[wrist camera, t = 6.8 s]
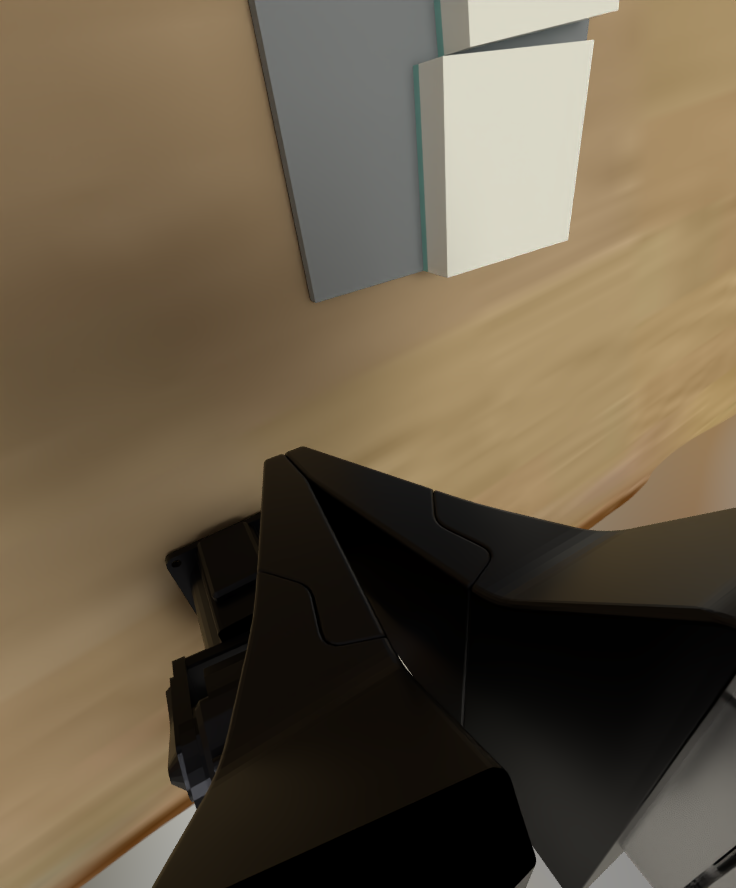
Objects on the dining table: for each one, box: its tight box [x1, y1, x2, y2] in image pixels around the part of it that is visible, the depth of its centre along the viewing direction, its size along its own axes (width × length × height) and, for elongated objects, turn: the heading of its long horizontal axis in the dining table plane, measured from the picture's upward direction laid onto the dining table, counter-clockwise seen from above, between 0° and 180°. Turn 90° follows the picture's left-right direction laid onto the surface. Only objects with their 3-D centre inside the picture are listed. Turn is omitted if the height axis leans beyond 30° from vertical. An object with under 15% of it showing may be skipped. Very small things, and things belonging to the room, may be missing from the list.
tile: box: [413, 40, 594, 278], centre depth 20 cm, size 8×2×8 cm
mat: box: [248, 0, 589, 303], centre depth 18 cm, size 16×16×1 cm
